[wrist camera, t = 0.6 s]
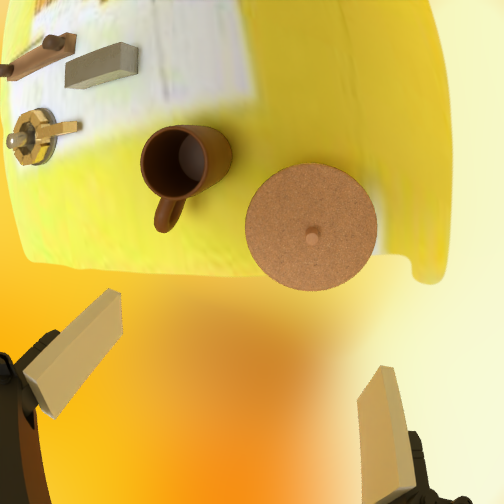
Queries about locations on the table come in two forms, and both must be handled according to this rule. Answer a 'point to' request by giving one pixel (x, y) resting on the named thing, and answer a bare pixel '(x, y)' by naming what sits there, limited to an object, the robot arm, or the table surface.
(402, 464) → the robot arm
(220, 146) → the mug
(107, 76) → the bar
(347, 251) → the lidded bowl
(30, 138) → the nut station
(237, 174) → the table surface
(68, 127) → the golden ring with handle
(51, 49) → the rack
